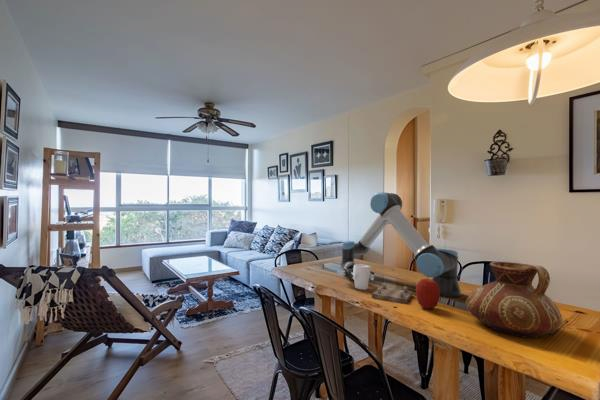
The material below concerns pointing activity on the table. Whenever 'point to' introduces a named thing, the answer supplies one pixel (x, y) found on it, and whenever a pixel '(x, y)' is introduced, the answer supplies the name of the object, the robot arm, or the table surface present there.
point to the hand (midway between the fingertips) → (364, 277)
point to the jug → (516, 301)
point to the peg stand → (392, 294)
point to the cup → (361, 276)
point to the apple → (427, 293)
